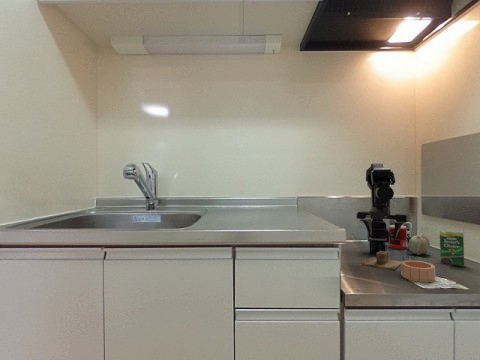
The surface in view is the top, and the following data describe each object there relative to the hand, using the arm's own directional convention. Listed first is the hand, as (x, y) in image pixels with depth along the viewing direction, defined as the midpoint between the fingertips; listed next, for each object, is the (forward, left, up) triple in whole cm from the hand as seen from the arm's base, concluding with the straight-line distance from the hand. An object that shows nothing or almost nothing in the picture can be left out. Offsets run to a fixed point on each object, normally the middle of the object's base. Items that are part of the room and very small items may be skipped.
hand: (382, 237), depth 120 cm
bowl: (+14, -8, -11) cm, 20 cm away
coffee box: (+21, +19, -12) cm, 30 cm away
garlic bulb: (+8, +28, -12) cm, 31 cm away
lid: (0, 0, -11) cm, 11 cm away
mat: (0, 0, -11) cm, 11 cm away
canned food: (-3, +36, -12) cm, 38 cm away
